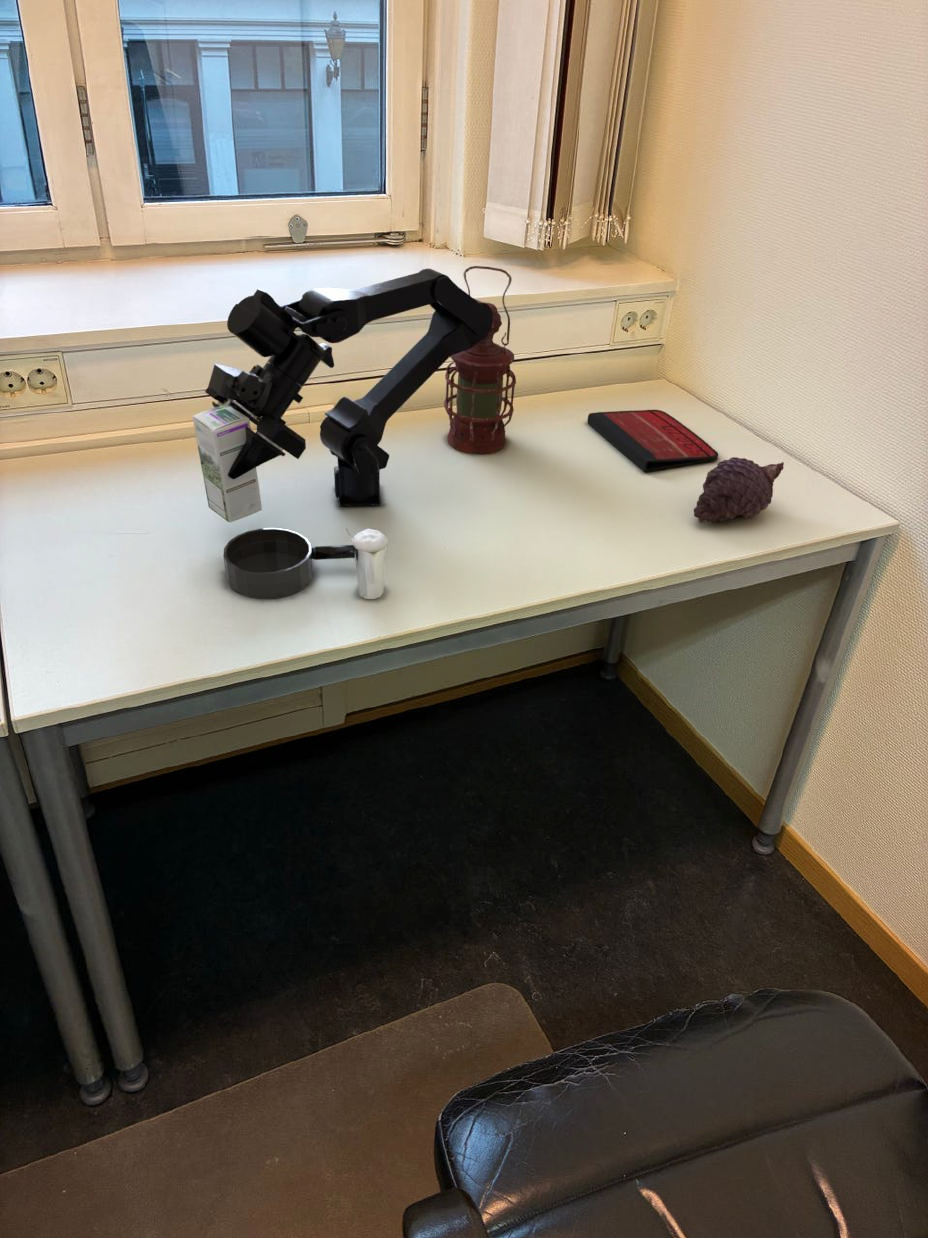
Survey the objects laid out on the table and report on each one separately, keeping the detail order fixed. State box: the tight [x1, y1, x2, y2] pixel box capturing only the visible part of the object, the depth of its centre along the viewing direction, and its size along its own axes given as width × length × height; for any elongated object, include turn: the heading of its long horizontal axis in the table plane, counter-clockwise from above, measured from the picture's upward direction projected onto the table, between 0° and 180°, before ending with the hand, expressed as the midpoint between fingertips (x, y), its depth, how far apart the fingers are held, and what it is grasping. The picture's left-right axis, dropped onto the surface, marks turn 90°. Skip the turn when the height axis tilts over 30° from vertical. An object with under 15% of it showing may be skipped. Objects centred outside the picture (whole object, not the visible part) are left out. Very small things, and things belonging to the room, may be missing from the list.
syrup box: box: [192, 405, 263, 523], centre depth 127 cm, size 6×6×14 cm
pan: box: [222, 527, 314, 600], centre depth 125 cm, size 12×12×4 cm
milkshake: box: [345, 527, 389, 600], centre depth 120 cm, size 4×5×10 cm
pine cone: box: [693, 456, 785, 523], centre depth 144 cm, size 18×10×10 cm
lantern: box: [443, 265, 517, 455], centre depth 154 cm, size 12×12×30 cm
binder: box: [586, 409, 719, 473], centre depth 166 cm, size 16×2×21 cm
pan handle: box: [312, 544, 355, 561], centre depth 125 cm, size 10×2×2 cm, turn 99°
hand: (220, 468), depth 126 cm, fingers closed on syrup box, 6 cm apart
